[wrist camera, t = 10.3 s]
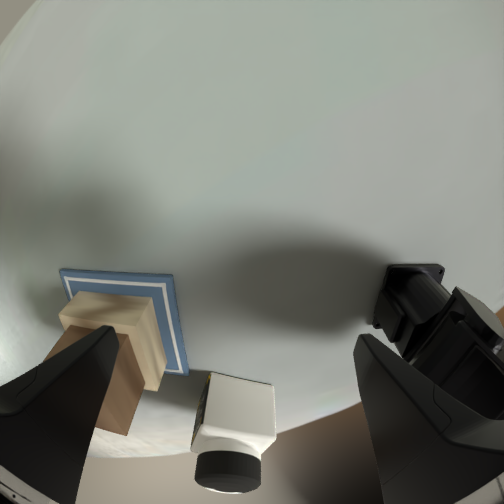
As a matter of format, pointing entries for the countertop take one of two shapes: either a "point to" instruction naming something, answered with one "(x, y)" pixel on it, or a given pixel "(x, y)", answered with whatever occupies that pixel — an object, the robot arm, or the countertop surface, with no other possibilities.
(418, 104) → the countertop surface
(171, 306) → the blueprint board
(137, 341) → the maple slab
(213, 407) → the medicine bottle
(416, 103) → the countertop surface
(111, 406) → the walnut cube
